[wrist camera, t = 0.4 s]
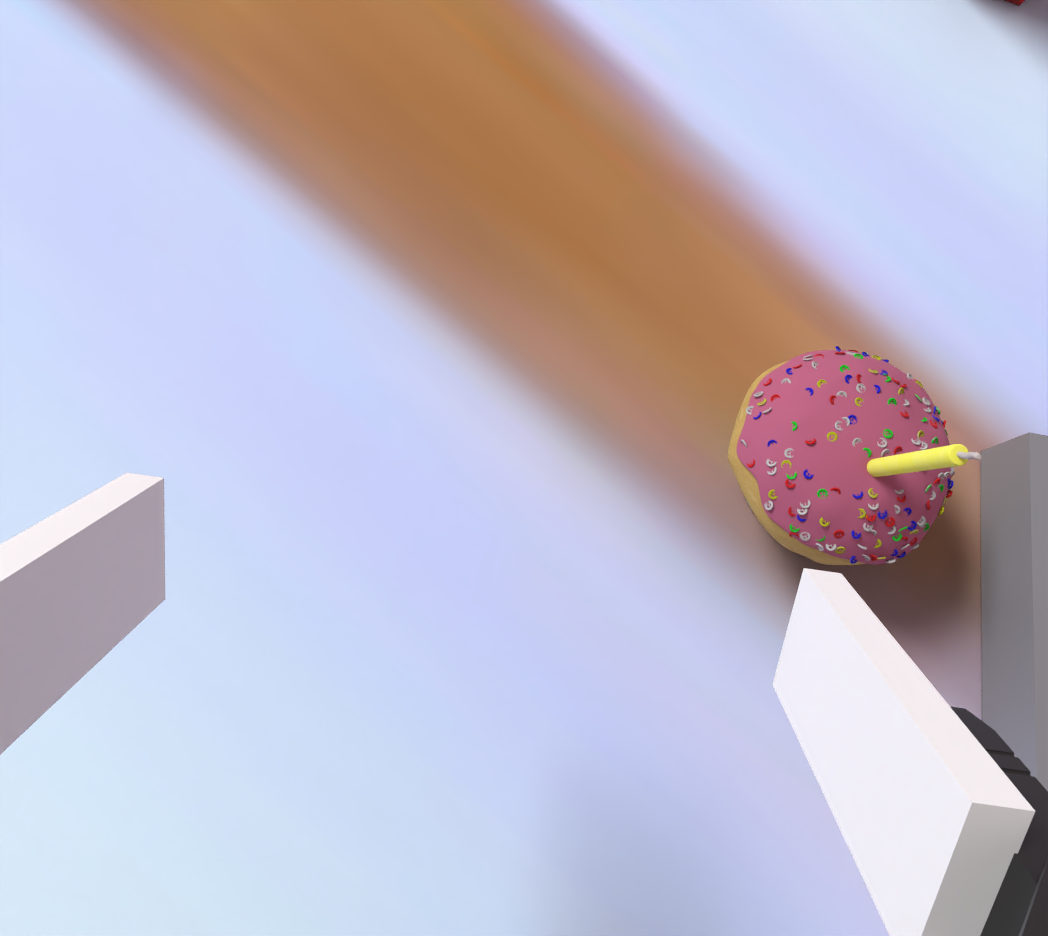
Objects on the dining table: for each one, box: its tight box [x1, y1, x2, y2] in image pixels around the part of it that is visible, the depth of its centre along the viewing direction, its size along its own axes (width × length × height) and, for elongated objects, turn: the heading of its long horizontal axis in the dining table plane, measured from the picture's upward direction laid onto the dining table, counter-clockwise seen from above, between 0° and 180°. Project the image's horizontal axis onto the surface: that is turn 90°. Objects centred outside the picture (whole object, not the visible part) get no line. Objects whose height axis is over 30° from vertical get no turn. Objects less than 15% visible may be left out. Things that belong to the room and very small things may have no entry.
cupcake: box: [728, 346, 981, 565], centre depth 28 cm, size 9×8×12 cm
